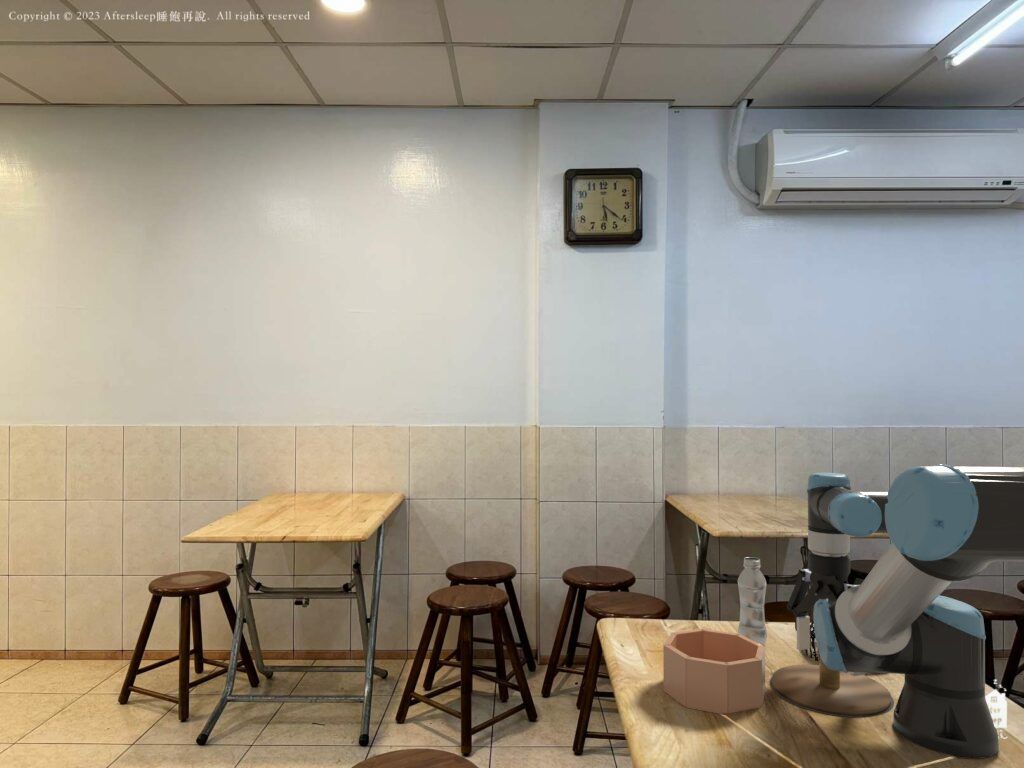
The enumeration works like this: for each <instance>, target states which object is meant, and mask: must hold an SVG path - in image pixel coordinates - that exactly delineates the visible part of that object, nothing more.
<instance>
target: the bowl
mask: <svg viewBox="0 0 1024 768" xmlns="http://www.w3.org/2000/svg"><path fill="white" fill-rule="evenodd" d="M662 648H663V649H662V650H663V692H664V693H665V694H666V695H668V696H670V698H672V699H673V700H675V701H677V702H678V703H679V704H680V705H682V706H684V707H685V708H687V709H692V710H696V711H697V710H698V711H703V712H709V713H712V714H713V713H714V714H719V715H724V716H726V714H734V713H738V712H744V711H748V710H749V711H750V710H753V709H758V708H763V704H764V700H765V694H766V645H761V644H759V643H757V642H755V641H753V640H751V639H749V638H747V637H745V636H743V635H741V634H738V632H737V633H736V632H729V631H721V630H716V629H715V630H714V629H708V628H696V629H689V630H683V631H681V630H680V631H675V632H671V633H670V634H669V636H668V637H667V639H666V640H665V642H664V643H663V647H662Z"/></svg>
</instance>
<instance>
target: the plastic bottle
mask: <svg viewBox="0 0 1024 768" xmlns="http://www.w3.org/2000/svg"><path fill="white" fill-rule="evenodd" d="M743 567H744V569H743V570H742V571H741V572H740V573H739V576H738V578H737V587H738V593H739V603H740V606H739V607H740V610H739V611H740V612H739V623H738V627H737V634H741V635H743V636H745V637H747V638H749V639H751V640H753V641H755V642H757V643H759V644H761V645H763V646H765V644H766V643H767V638H768V632H767V631H768V630H767V627H766V619H765V618H766V617H765V598H766V597H765V596H766V592H767V580H766V578H765V576H764V574H763V572H762V571H761V570H760V568H761V567H762V566H761V559H760V558H759V557H753V556H752V557H751V556H747V557H744V558H743Z"/></svg>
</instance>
